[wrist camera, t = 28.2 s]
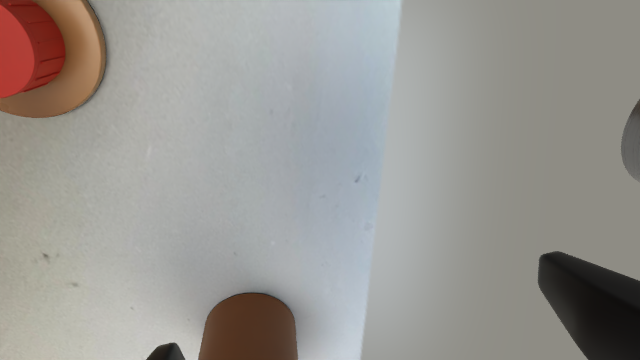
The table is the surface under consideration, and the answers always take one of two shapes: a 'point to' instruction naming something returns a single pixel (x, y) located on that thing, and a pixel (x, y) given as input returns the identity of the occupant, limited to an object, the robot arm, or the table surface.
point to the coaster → (66, 64)
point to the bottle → (249, 330)
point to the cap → (28, 47)
